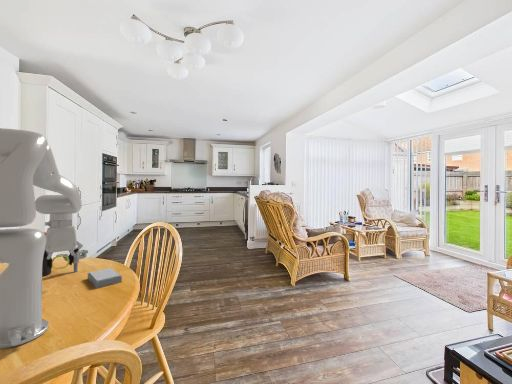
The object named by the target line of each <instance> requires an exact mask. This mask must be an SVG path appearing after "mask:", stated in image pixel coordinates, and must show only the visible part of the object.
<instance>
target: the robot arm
mask: <svg viewBox="0 0 512 384" xmlns="http://www.w3.org/2000/svg"><path fill="white" fill-rule="evenodd" d="M48 143H49V142H48V139H47V138H46V137H45V135H43V134H41V133H39V132H35V131H30V130H24V129H23V130H22V129H13V128H4V127H3V128H0V264H8V266H7V267H5V269H3V271H2V272H1V273H0V349H7V348H13V347H16V346H20V345H23V344H26V343H28V342H31V341H33V340H35V339H37V338H38V337H40V336H41V335H43V334H44V333H45V332H47V330H48V329H49V321H48V320H46V319H43V276H42V264H43V257H45V258H46V259H47V267H49V269H51V270H52V269H53V267H52V260H53V258H52V256H53V254H54V253H58V252H59V253H60V252H66V251H67V252H69V254H68V256H69V259H70V263H69V265H68V266H72V265H73V262H74V255H75V254H76V253H77V252H78V251H80V250H82V248H83V247H84V245H83V244H82V243H80V241H78V240H77V233H76V228H75V227H76V226H74V225H73V214H76V213H79V212H80V211H81V209H82V205H83V204H82V198H81V194H80V190H79V189H78V186H77V185H75V184H74V183H73V182H72V181H71V180H69V179H68V178H66V177H65V176H64V175H61V174H60V173H59V169H58V167H57V163H56V160H55V157H54V153H53V151H52V148H51V146H50V145H49V144H48ZM34 187H37V188H40V189H44V190H47V191H50V192H54V193H58V194H44V195H43V194H42V195H40V196H38V197H37V198H35V197H36V196H35V190H34V189H35V188H34ZM37 212H38V213H39V214H43V215H49V221H46V222H44V226H45V227H46V226H48V228H47V229H46V236H45V234H44V233H43V231H42V230H39V229H36V228H28V227H27V228H25V227H24V226H27V225H30V224H32V223H34V221H35V219H36V215H37ZM15 227H16V228H15ZM17 227H20V228H17ZM21 227H24V228H21ZM1 228H2V229H1ZM3 228H4V229H3ZM45 250H46V252H48V253H47V254H46V253H44V251H45Z"/></svg>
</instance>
